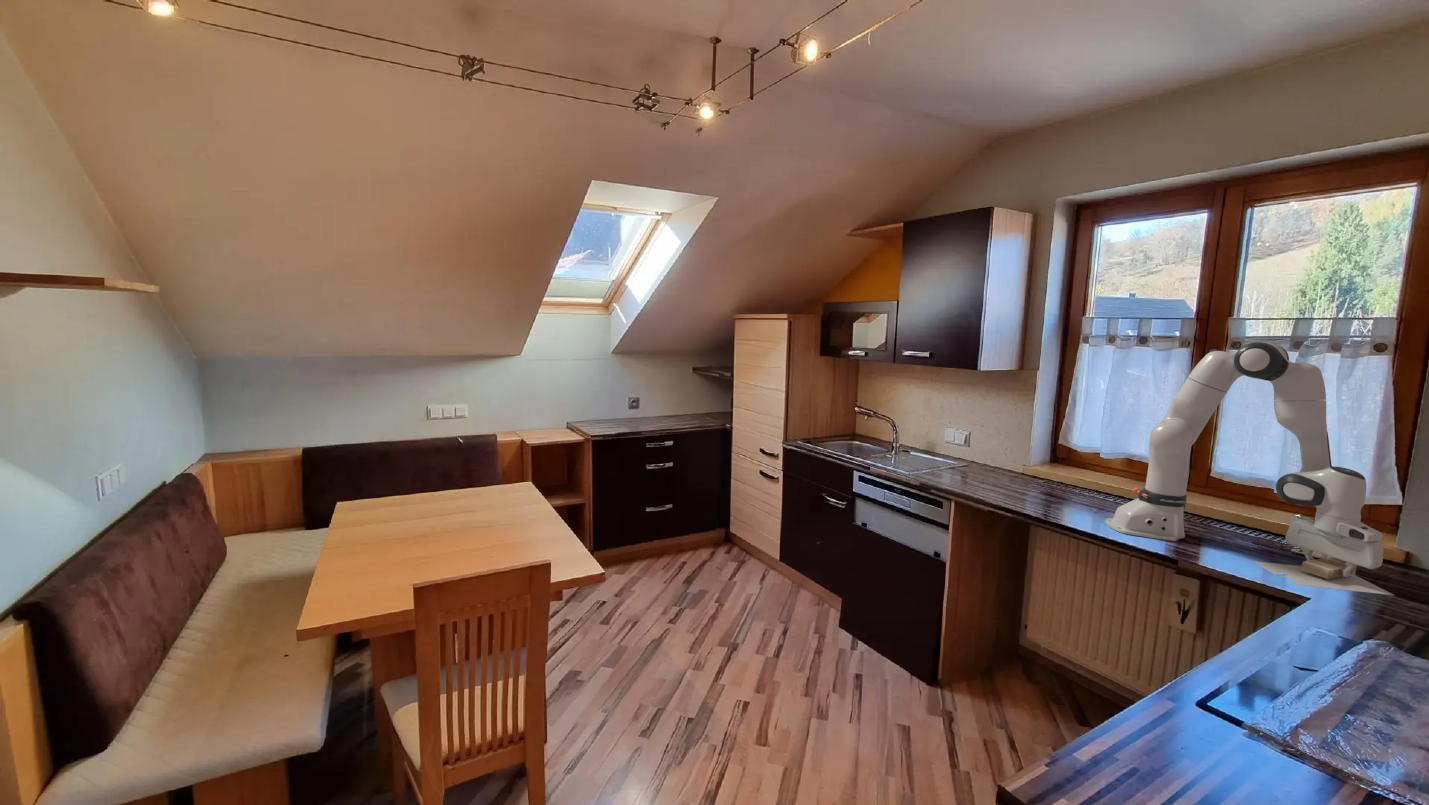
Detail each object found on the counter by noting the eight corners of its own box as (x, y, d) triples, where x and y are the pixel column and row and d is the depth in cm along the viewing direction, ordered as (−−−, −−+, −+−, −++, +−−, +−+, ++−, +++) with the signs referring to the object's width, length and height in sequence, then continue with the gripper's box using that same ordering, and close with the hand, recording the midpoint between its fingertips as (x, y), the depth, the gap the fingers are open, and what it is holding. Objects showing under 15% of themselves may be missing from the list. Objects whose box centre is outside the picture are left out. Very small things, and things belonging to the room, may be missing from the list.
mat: (1290, 585, 166) (1291, 584, 165) (1251, 562, 181) (1252, 561, 181) (1394, 596, 161) (1394, 595, 161) (1345, 572, 176) (1345, 570, 176)
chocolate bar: (1259, 536, 202) (1334, 555, 188) (1259, 539, 203) (1334, 557, 188) (1252, 542, 197) (1329, 561, 183) (1252, 545, 197) (1328, 564, 183)
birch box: (1330, 557, 177) (1302, 561, 173) (1357, 565, 171) (1329, 570, 167) (1328, 565, 177) (1300, 570, 173) (1355, 574, 172) (1327, 579, 168)
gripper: (1284, 513, 179) (1276, 557, 181) (1377, 538, 160) (1366, 587, 162) (1298, 511, 181) (1289, 555, 183) (1391, 536, 162) (1380, 584, 164)
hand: (1326, 570), depth 172 cm, fingers closed on birch box, 6 cm apart
